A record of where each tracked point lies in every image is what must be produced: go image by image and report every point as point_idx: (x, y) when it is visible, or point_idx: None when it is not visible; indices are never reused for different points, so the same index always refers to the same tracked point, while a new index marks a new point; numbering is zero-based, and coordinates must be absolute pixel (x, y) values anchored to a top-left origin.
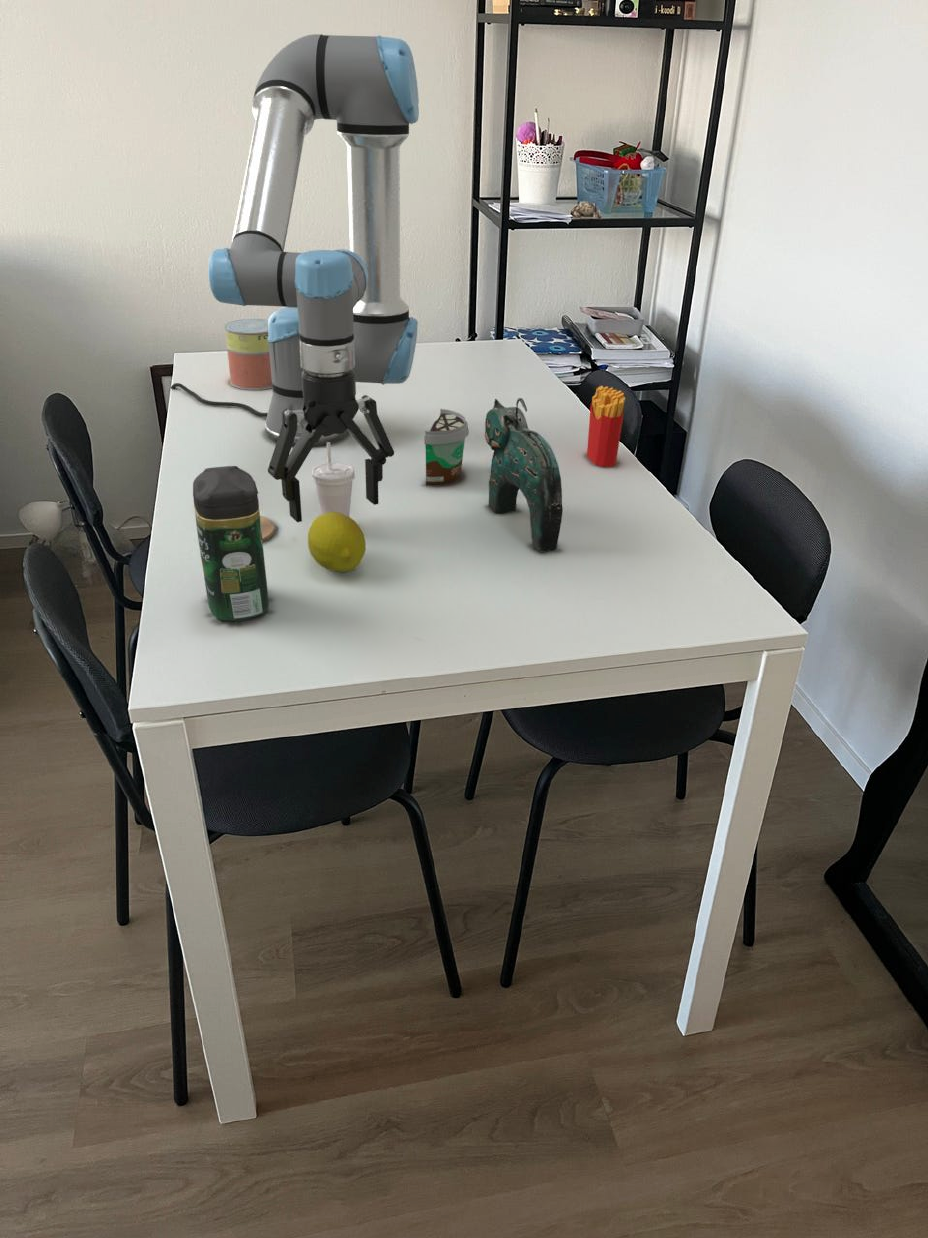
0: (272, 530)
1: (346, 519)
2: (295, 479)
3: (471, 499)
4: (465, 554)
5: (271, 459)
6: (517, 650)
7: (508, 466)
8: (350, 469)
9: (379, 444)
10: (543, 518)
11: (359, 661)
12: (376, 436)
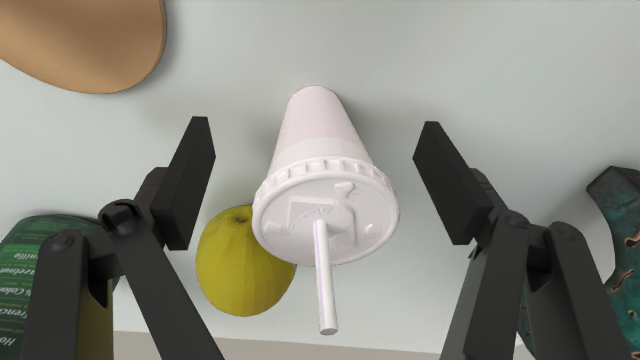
0: (154, 62)
1: (260, 310)
2: (176, 240)
3: (635, 125)
4: (427, 250)
5: (34, 293)
6: (333, 339)
7: (621, 326)
8: (382, 233)
9: (553, 259)
10: None
11: (208, 325)
12: (547, 316)
